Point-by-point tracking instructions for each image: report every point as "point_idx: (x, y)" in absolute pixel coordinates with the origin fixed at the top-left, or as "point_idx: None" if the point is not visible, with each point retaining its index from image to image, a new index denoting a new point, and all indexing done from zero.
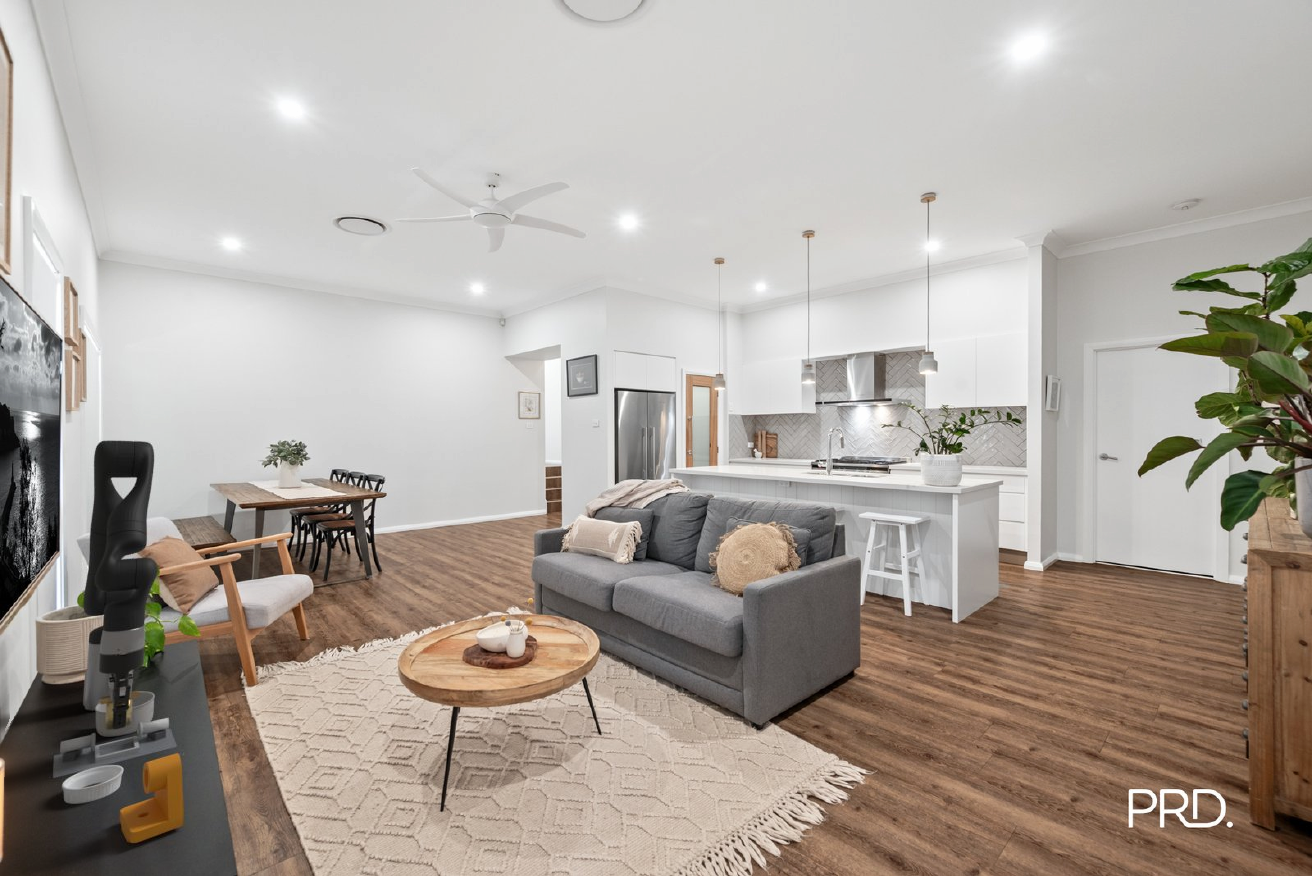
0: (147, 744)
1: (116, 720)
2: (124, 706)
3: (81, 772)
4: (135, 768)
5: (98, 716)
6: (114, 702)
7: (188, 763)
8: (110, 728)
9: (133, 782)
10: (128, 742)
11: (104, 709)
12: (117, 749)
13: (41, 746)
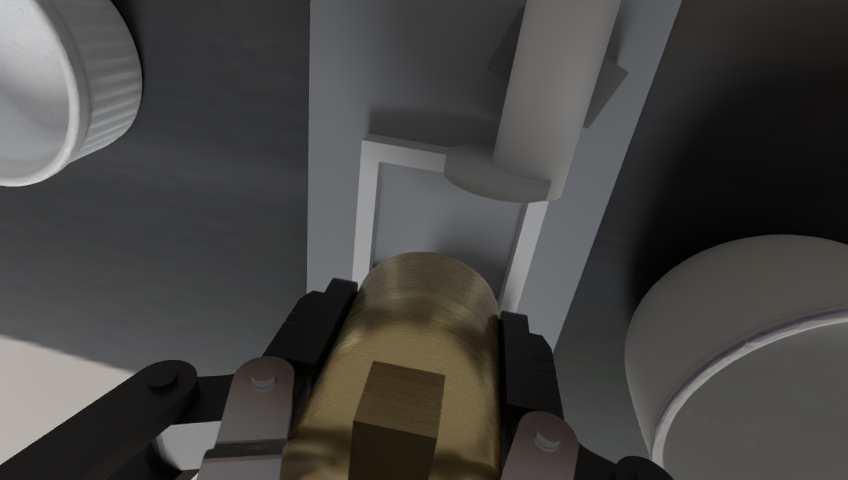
0: None
1: (282, 327)
2: (141, 452)
3: (43, 27)
4: (258, 235)
5: (831, 289)
6: (9, 460)
7: (187, 348)
8: (375, 271)
9: (126, 196)
10: (503, 288)
11: None
12: (463, 238)
13: None
